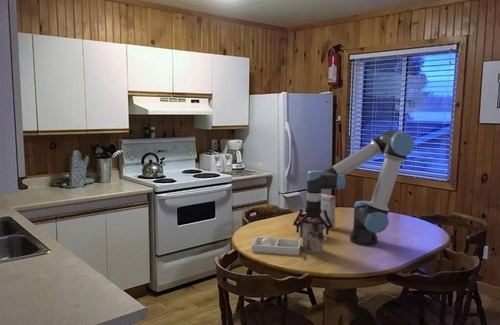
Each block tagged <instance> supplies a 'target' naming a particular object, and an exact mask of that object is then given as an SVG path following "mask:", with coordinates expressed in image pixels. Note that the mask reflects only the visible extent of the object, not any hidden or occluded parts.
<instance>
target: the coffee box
mask: <svg viewBox="0 0 500 325" xmlns="http://www.w3.org/2000/svg"><path fill="white" fill-rule="evenodd" d="M323 234H324V229H323V223H322V222H321V221H320V220H318V219H316V220H304V222H303V236H302V245H301V247H302V249H303V251H304V252H305V253H306V254H310V253H312V254H313V253H321V252H323V250H324V249H323V246H324V245H323V243H324V235H323Z"/></svg>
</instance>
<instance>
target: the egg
mask: <svg viewBox="0 0 500 325" xmlns="http://www.w3.org/2000/svg"><path fill="white" fill-rule="evenodd" d="M267 238H268V237H266V238H264V239H262V241H261V245H265V246H270V244H271V242H270V240H269V239H267Z"/></svg>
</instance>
